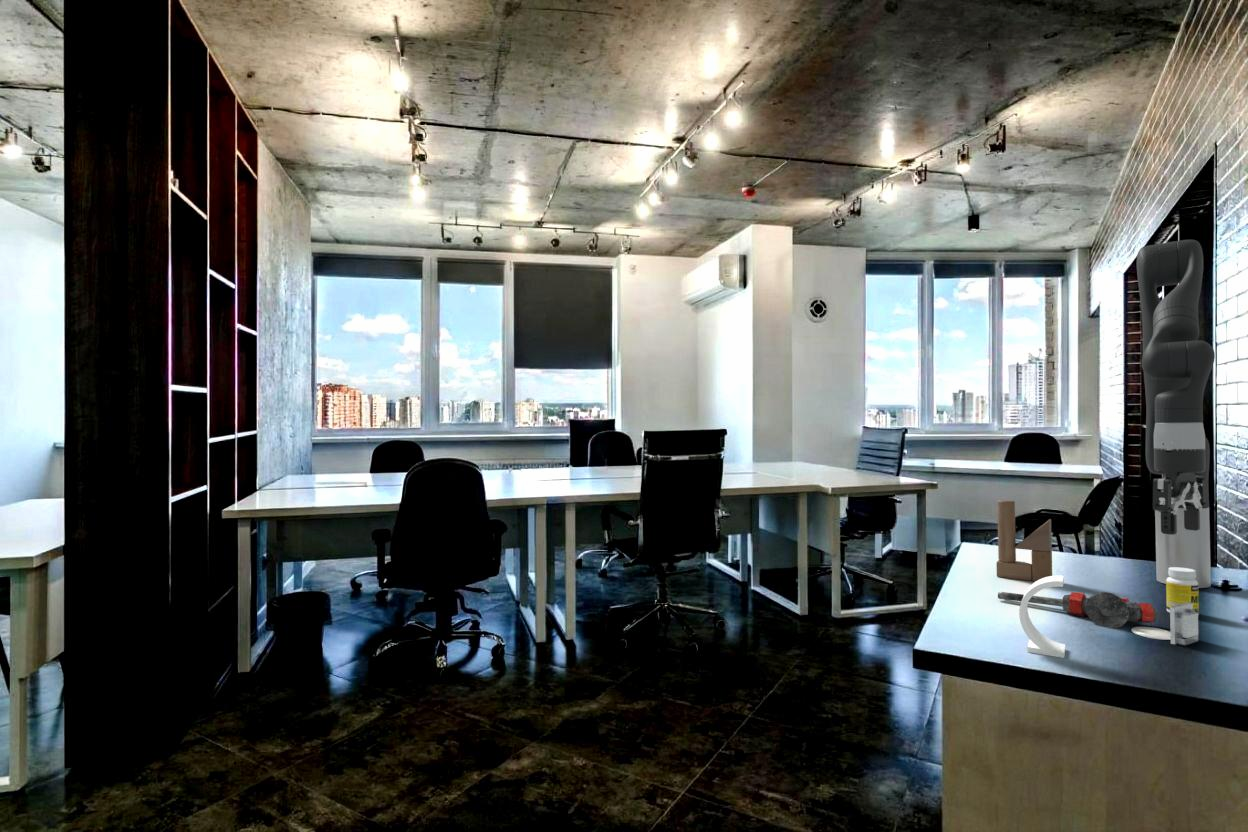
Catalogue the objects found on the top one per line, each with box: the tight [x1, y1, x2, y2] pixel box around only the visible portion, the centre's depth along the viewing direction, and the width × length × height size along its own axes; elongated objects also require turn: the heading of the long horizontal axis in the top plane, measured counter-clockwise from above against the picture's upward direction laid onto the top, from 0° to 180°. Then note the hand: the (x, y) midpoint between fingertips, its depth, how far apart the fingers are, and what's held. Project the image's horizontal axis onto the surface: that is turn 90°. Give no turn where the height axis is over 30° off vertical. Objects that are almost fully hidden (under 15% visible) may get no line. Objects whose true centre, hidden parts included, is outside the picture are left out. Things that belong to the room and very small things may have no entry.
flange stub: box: [1169, 602, 1199, 646], centre depth 110 cm, size 6×2×6 cm, turn 117°
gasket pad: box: [1131, 626, 1171, 641], centre depth 114 cm, size 6×6×1 cm
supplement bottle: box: [1165, 567, 1200, 616], centre depth 126 cm, size 5×5×8 cm
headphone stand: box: [1018, 575, 1066, 659], centre depth 108 cm, size 5×6×12 cm
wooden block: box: [995, 499, 1053, 583], centre depth 154 cm, size 4×11×18 cm, turn 50°
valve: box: [997, 591, 1160, 629], centre depth 128 cm, size 6×26×15 cm
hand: (1180, 532), depth 126 cm, fingers open, 8 cm apart
